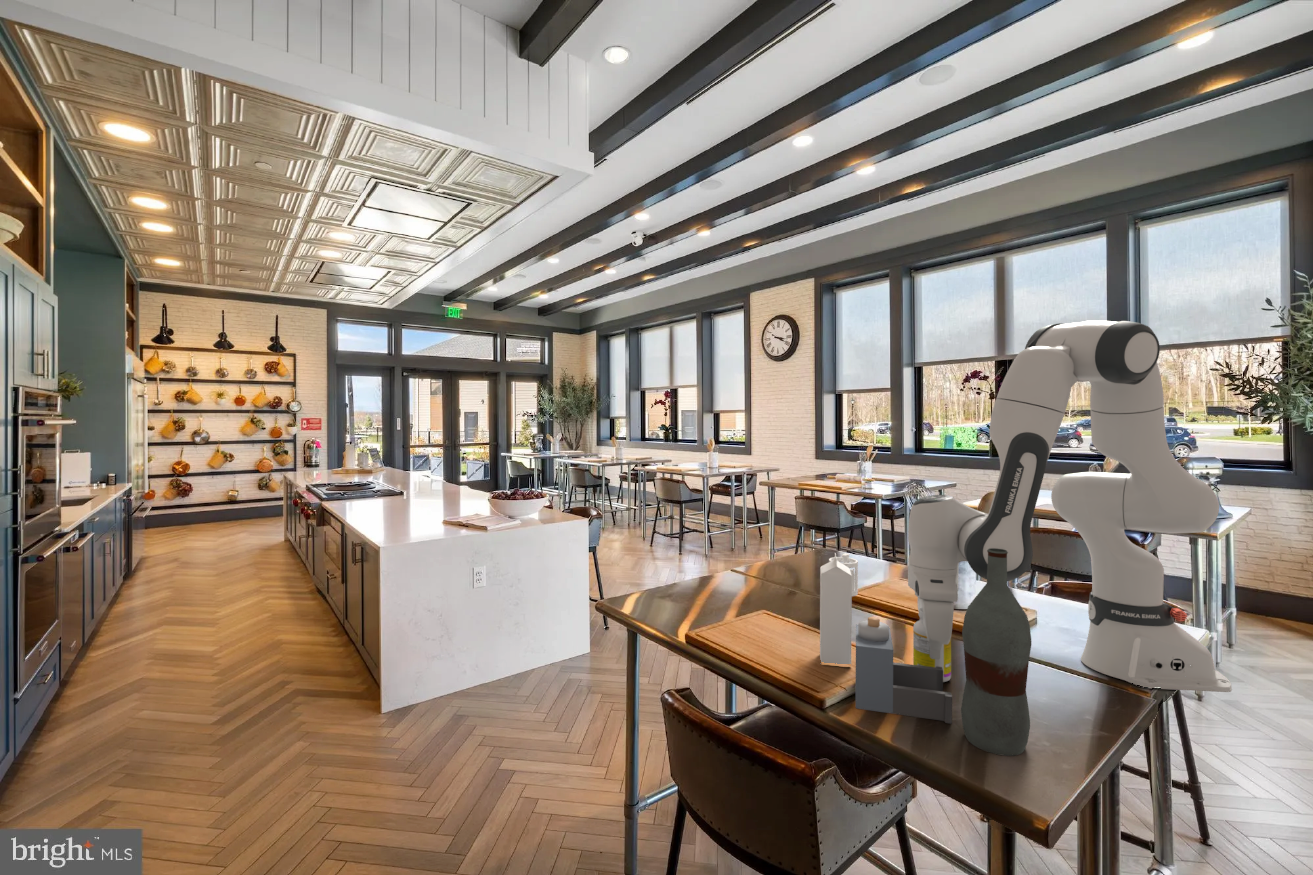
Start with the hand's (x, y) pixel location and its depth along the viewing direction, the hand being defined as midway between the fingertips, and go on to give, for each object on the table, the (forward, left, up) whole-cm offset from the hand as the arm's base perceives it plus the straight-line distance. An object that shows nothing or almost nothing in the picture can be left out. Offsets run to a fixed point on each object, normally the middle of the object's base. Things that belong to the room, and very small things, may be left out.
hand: (932, 649), depth 114 cm
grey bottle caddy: (+7, +11, -5) cm, 14 cm away
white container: (+17, -33, -6) cm, 37 cm away
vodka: (-6, +22, -6) cm, 23 cm away
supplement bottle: (0, 0, -5) cm, 5 cm away
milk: (+18, -2, -6) cm, 19 cm away
